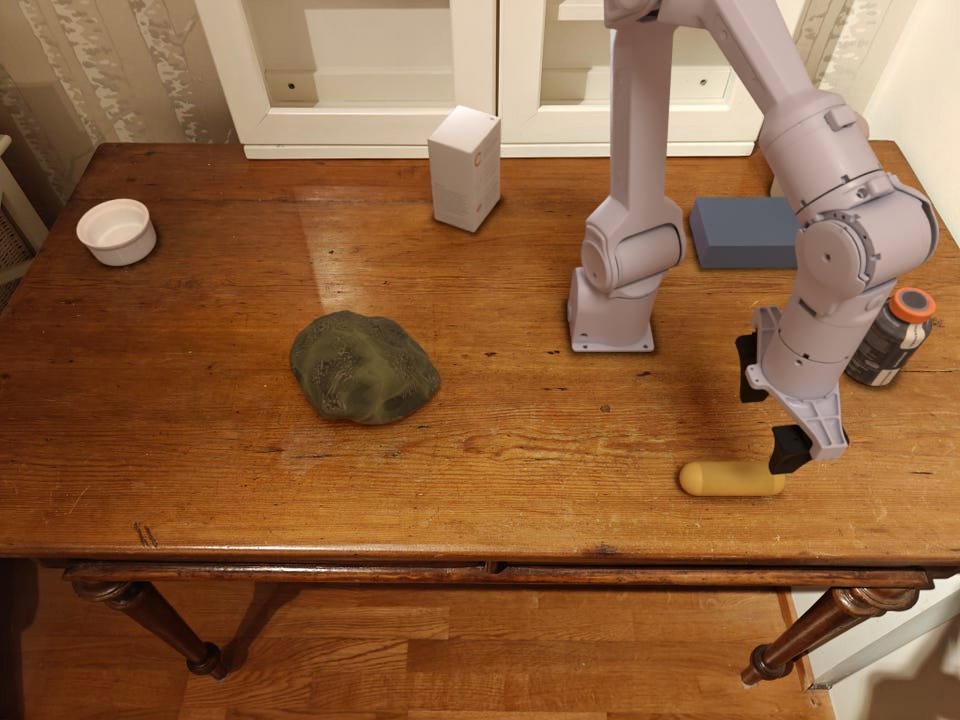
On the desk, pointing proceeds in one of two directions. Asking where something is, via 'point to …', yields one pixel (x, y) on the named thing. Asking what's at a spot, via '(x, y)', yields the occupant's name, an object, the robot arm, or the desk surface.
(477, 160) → the small box
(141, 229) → the ramekin
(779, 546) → the desk surface
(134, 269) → the desk surface
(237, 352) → the desk surface
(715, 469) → the yellow capsule pill
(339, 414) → the decorative rock
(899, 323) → the pill bottle
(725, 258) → the block
